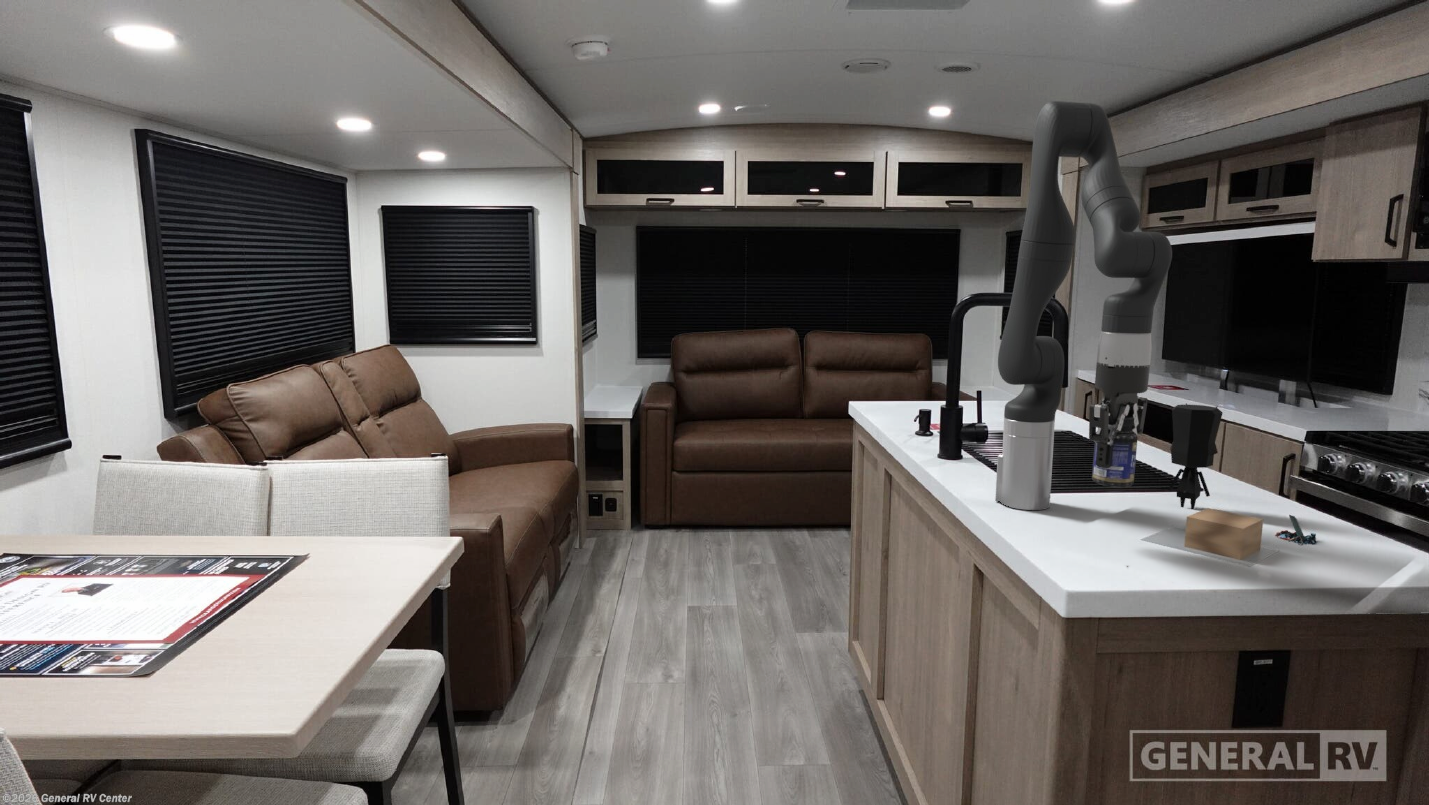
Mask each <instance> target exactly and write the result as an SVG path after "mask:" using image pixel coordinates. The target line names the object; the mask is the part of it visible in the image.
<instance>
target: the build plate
mask: <svg viewBox="0 0 1429 805" xmlns="http://www.w3.org/2000/svg"><path fill="white" fill-rule="evenodd" d="M1185 533H1186V528H1183V527H1178V526H1174V525H1172V526H1170V527H1168V528H1166V529H1163V530H1160V531H1157V532H1156V533H1153V534H1151V535H1147V536H1146V537H1143V538H1141V539H1140V541H1142V542H1148V543H1151V544H1155V545H1159V546H1164V547H1167V548H1168V547H1169V548H1172V549H1176V550H1180V551H1183V552H1187V553H1192V554H1196V555H1201V556H1204V557H1209V558H1212V559H1216V560H1220V561H1225V562H1228V563H1232V564H1237V565H1241V566H1245V567H1249V568H1251V567H1252V566H1254V565H1256V564H1258V563H1260V562H1262V561H1263V560H1265V559H1267V558H1269V557H1270V556H1273V555H1274V554H1276V553H1278V552H1280V550H1279V549H1276V548H1271V547H1266V546H1262V545H1261V547H1260V550H1258V551H1257V552H1255V553H1253V554H1251V555H1249V556H1247V557H1245V558H1243V559H1241V560H1238V559H1233V558H1229V557H1225V556H1221V555H1217V554H1213V553H1209V552H1205V551H1200V550H1196V549H1192V548H1188V547H1184V545H1185Z"/></svg>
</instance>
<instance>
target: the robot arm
mask: <svg viewBox="0 0 1429 805" xmlns="http://www.w3.org/2000/svg"><path fill="white" fill-rule="evenodd" d="M1037 115H1038V116H1037V119H1036V122H1035V127H1034V131H1033V138H1032V139H1033V140H1032V150H1031V151H1032V152H1031V166H1030V179H1029V189H1028V197H1027V204H1026V210H1025V216H1024V223H1023V227H1022V232H1021V238H1020V245H1019V250H1018V255H1017V256H1018V257H1017V266H1016V272H1015V279H1014V284H1013V288H1012V290H1013V291H1012V295H1011V301H1010V306H1009V310H1008V314H1007V319H1006V322H1005V324H1004V329H1003V332H1002V338H1001V339H1000V344H999V349H998V356H997V367H998V368H997V369H998V372H999V376H1000V378H1001V379H1002V380H1003V381H1004V382H1005V383H1006V384H1009V385H1012V386H1016V385H1017V386H1018V385H1019V386H1020V385H1021V386H1023V389H1022V391H1021V392H1020V393H1019V394H1018V395H1017V396H1016V397H1014V398H1012V399H1011V400H1009V401H1008V402H1006V404H1005V405H1004V409H1003V410H1004V414H1003V432H1002V453H1000V454H998V455H997V460H996V461H997V465H996V482H995V498H994V499H995V501H994V502H997V501H1000V502H1001V503H1002V504H1001V503H1000V502H999V503H1000V504H1001V505H1003V504H1004V505H1003V506H1005V505H1006V506H1005V507H1008V506H1009V508H1013V509H1017V510H1027V511H1038V510H1039V511H1040V510H1045V509H1048V508H1049V507H1050V502H1051V489H1052V473H1053V472H1052V471H1053V457H1054V443H1055V442H1054V441H1055V440H1054V438H1055V425H1056V424H1055V420H1056V413H1057V411H1058V408H1059V406H1060V405H1061V404H1060V403H1061V398H1062V390H1063V382H1064V381H1063V380H1064V373H1065V355H1064V350H1063V347H1062V345H1061V344H1060V342H1059V341H1058V340H1057V339H1056V338H1054V337H1053V336H1048V335H1038V334H1037V333H1038V329H1039V323H1040V320H1041V317H1042V315H1043V312H1044V310H1045V309H1046V307H1047V305H1048V304H1049V303H1050V301H1051V299H1052V298H1053V296H1054V295H1055V294H1056V293H1057V291H1058V290H1059V288H1060V287H1061V285H1062V284H1063V283H1064V281H1065V279H1066V277H1067V276H1068V273H1069V271H1070V268H1071V265H1072V260H1073V254H1074V247H1075V243H1076V229H1075V224H1074V222H1073V219H1072V216H1071V215H1070V212H1069V210H1068V207H1067V205H1066V203H1065V201H1064V198H1063V196H1062V193H1061V190H1060V184H1059V162H1060V157H1061V158H1082V159H1084V160H1085V161H1086V162H1087V165H1088V166H1089V168H1090V169H1089V172H1088V174H1087V176H1086V178H1085V180H1084V183H1083V185H1082V190H1081V194H1080V195H1081V204H1082V207H1083V210H1084V213H1085V214H1086V217H1087V219H1088V221H1089V223H1090V225H1091V228H1092V232H1093V233H1092V234H1093V242H1094V244H1093V245H1094V246H1093V247H1094V249H1093V250H1094V251H1093V252H1094V253H1093V254H1094V255H1093V256H1094V257H1093V258H1094V264H1095V267H1096V269H1097V270H1098V271H1099V272H1100V273H1101V274H1102V275H1104V276H1105V277H1108V278H1112V279H1117V278H1118V279H1134V280H1133V282H1132V283H1131V285H1130V287H1129V288H1128V290H1126V291H1124V292H1119V293H1114V294H1110V295H1108V296H1107V297H1106V298H1105V300H1104V301H1103V302H1104V303H1103V305H1102V306H1103V309H1102V315H1101V316H1102V317H1101V318H1102V319H1101V329H1100V336H1099V341H1098V345H1097V355H1096V365H1095V366H1096V368H1095V378H1094V387H1095V389H1097V390H1099V391H1101V392H1102V397H1101V400H1100V403H1099V404H1098V403H1097V404H1096V403H1091V404H1089V418H1088V421H1089V422H1088V423H1089V427H1088V428H1089V429H1088V438H1089V439H1088V440H1089V441H1091V442H1094V444H1095V443H1097V453H1096V466H1098V467H1102V468H1110V467H1111V465H1112V454H1113V442H1114V439H1115V436H1116V434H1117V433H1119V432H1120V431H1121V428H1122V425H1123V422H1124V419H1125V418H1126V417H1134V425H1133V427H1132V431H1133V432H1135V433H1136V435H1137V436H1138V435H1142V434H1143V431H1144V425H1145V420H1146V413H1147V409H1148V408H1147V406H1148V401H1149V400H1148V398H1147V397H1140V396H1139V395H1138V394H1142V393H1146V392H1147V391H1148V389H1149V380H1150V379H1149V378H1150V371H1151V370H1150V367H1151V360H1152V359H1151V358H1152V348H1153V347H1152V346H1153V345H1152V329H1153V317H1154V308H1155V305H1156V302H1157V300H1158V297H1159V295H1160V291H1161V289H1162V286H1163V284H1164V281H1165V278H1166V277H1167V275H1168V272H1169V269H1170V267H1171V262H1172V260H1173V259H1172V258H1173V248H1172V245H1171V242H1170V240H1169V238H1168V237H1167V236H1166V235H1165V234H1163V233H1161V232H1160V231H1158V232H1157V231H1136V229H1137V228H1138V227H1139V225H1140V223H1141V218H1142V217H1141V212H1140V208H1139V207H1138V204H1137V203H1136V201H1135V198H1134V197H1133V195H1132V193H1131V191H1130V189H1129V187H1128V185H1127V183H1126V181H1125V179H1124V176H1123V173H1122V170H1121V166H1120V162H1119V157H1118V156H1119V155H1118V152H1117V147H1116V143H1115V141H1114V139H1115V138H1114V136H1113V132H1112V131H1113V130H1112V128H1111V123H1110V120H1109V117H1108V115H1107V113H1106V112H1105V109H1103V107H1102V106H1101V105H1099V104H1096V103H1095V104H1094V103H1089V102H1075V101H1063V100H1062V101H1061V100H1057V101H1056V100H1053V101H1049V102H1047V103H1046V104H1044V105H1043V106H1042V107H1041V110H1040V111H1039V113H1038V114H1037ZM1037 335H1038V336H1037ZM1109 422H1110V423H1115V424H1114V425H1109ZM1108 431H1110V433H1109V436H1108ZM1096 432H1097V433H1096Z"/></svg>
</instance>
